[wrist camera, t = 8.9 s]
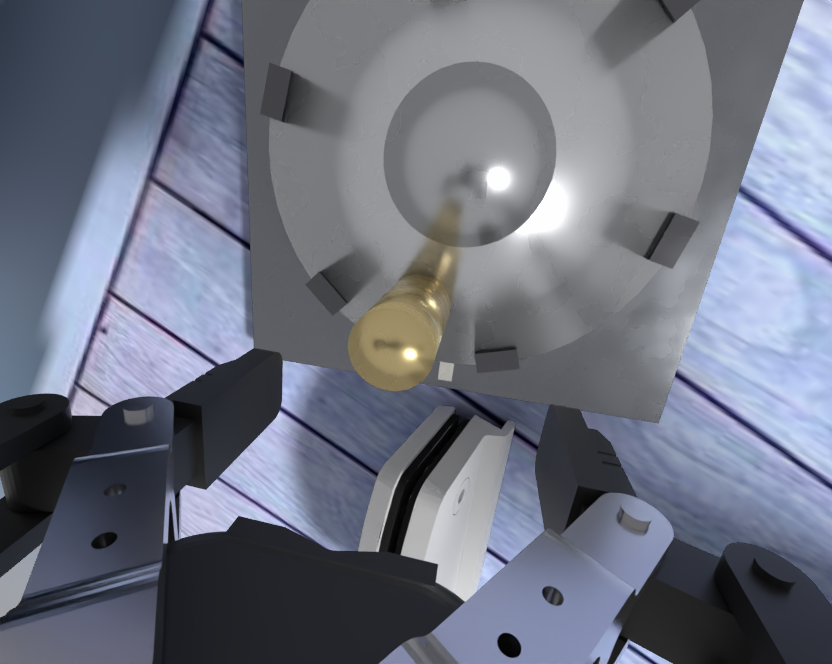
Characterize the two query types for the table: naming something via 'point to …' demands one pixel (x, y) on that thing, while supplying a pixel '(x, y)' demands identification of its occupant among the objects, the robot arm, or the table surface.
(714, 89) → the base plate
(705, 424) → the table surface
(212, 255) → the table surface
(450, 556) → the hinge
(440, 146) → the silver disc
